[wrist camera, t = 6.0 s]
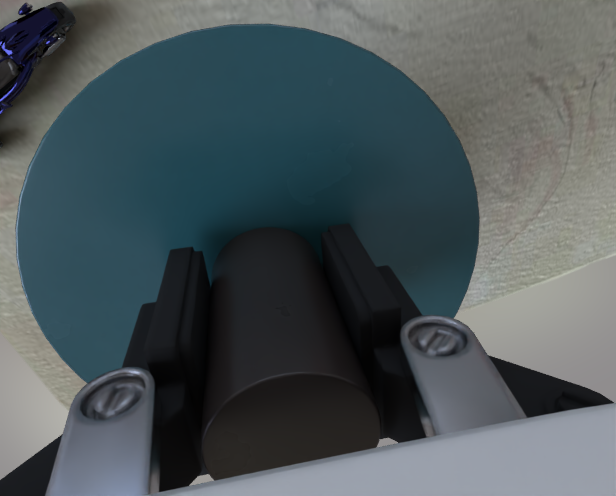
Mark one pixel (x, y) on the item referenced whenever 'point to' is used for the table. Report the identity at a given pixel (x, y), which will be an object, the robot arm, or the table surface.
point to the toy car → (29, 46)
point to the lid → (246, 223)
